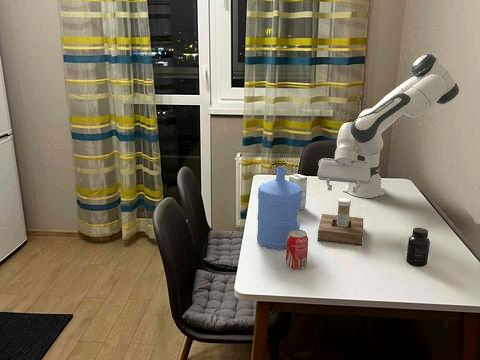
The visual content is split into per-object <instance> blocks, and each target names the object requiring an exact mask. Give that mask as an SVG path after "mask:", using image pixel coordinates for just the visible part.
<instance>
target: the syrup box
mask: <svg viewBox="0 0 480 360" xmlns="http://www.w3.org/2000/svg"><path fill="white" fill-rule="evenodd" d="M288 177H289V179H288V181H290V182H292V183H294V184H297V185H299V186H300V187H301V189H302V200H301V208H300V209H299V210H298V211H300V210H303V209H306V207H307V206H306V205H307V203H306V202H307V189H308V176H306V175H302V174H299V173H294V174H291V175H289V176H288Z"/></svg>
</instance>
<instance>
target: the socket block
mask: <svg viewBox="0 0 480 360" xmlns="http://www.w3.org/2000/svg"><path fill="white" fill-rule="evenodd" d="M337 216H338V214H337V215H336V214H330V213H329V214H327V213H322V214H321V217H320V221H319V225H318V229H317V240H316V241H317V242H321V243H330V244H331V243H332V244H340V245H349V246H356V247H357V246H358V247H363V239H364V217H359V216H358V217H357V216H349V224H348V228H342V227H337Z"/></svg>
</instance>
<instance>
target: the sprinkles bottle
mask: <svg viewBox="0 0 480 360" xmlns="http://www.w3.org/2000/svg"><path fill="white" fill-rule="evenodd" d="M351 205H352V201H351V199H350V198H348V197H340V198H338V201H337V206H338V207H337V215H338V216H337V227H342V228H348V224H349V217H350V209H351V208H350V207H351Z"/></svg>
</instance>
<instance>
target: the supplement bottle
mask: <svg viewBox="0 0 480 360" xmlns="http://www.w3.org/2000/svg"><path fill="white" fill-rule="evenodd" d="M407 241H408V243H407V250H406V257H405V260H406V263H407V264H409V266H412V267H416V268H423V267H426V266H427V265H428V261H429V260H428V259H429V255H430V254H429V253H430V248H431V247H430V246H431V240H430V238H429V230H428V229H427V228H424V227H414V228H413V229H412V234H411V235H410V236H409V237H408V240H407Z"/></svg>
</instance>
